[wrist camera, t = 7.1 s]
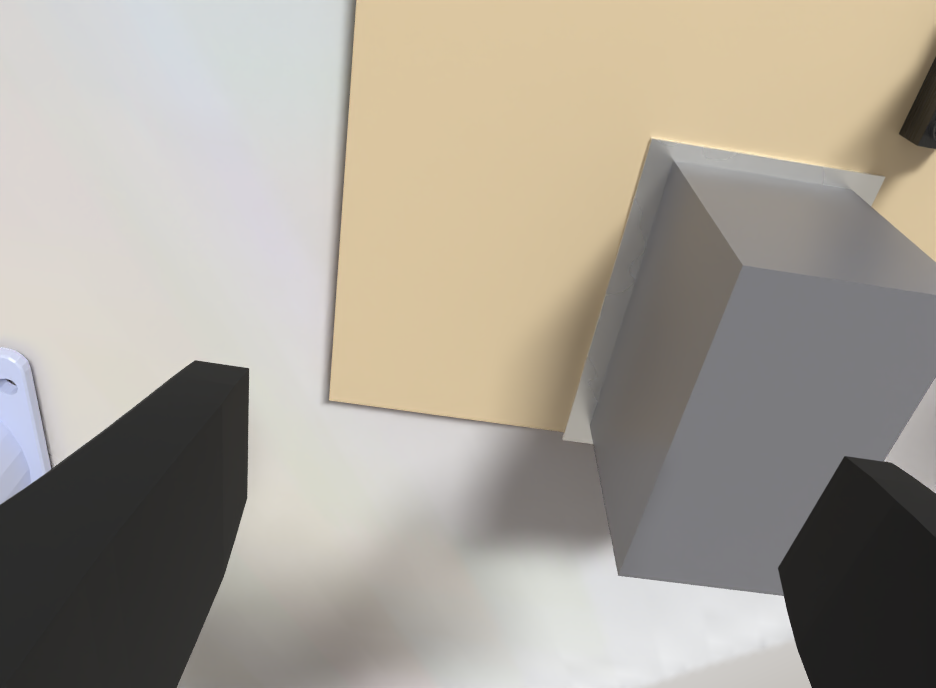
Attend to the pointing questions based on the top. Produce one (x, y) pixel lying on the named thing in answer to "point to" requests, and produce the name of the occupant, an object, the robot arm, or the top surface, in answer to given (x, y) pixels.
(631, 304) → the plug housing
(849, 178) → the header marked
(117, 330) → the top surface
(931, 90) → the header plain
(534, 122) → the tan square board
